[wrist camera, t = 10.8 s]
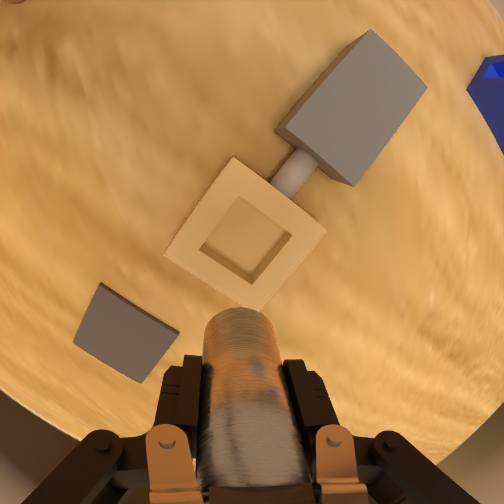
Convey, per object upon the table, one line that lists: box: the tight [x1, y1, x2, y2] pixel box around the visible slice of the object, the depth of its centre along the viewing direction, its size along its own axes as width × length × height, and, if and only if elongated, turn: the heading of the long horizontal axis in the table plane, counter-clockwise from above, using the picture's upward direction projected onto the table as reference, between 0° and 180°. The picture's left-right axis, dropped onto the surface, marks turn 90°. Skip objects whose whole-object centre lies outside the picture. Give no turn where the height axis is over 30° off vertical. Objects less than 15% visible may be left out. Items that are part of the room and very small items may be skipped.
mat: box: [73, 283, 179, 384], centre depth 30 cm, size 10×10×1 cm
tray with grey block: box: [163, 29, 428, 312], centre depth 23 cm, size 26×10×5 cm, turn 142°
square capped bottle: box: [195, 308, 316, 504], centre depth 9 cm, size 3×3×10 cm
